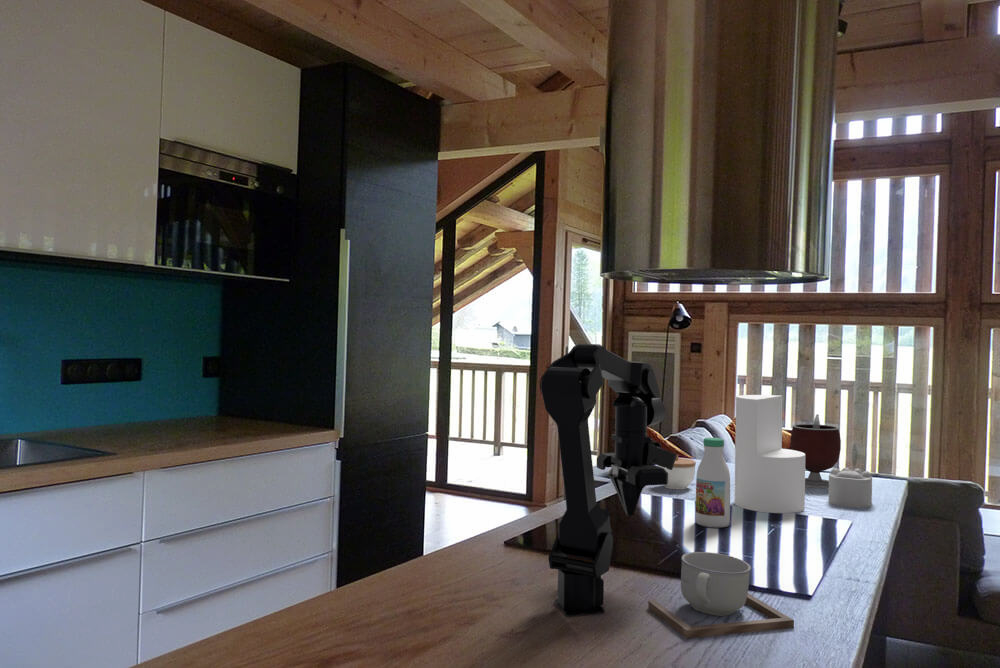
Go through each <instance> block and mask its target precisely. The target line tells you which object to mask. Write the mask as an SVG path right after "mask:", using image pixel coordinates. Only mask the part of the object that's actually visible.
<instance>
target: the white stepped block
mask: <svg viewBox="0 0 1000 668" xmlns="http://www.w3.org/2000/svg"><path fill="white" fill-rule="evenodd" d="M734 430H735V434H734V435H735V438H734V440H735V441H734V451H735V452H734V455H735V456H734V501H733V502H734V505H735V506H736V507H739V508H741V509H745V510H749V511H755V512H762V513H768V514H769V513H770V514H772V513H773V514H793V513H799V512H803V511H804V510H805V507H806V504H805V503H806V500H805V499H806V498H805V497H806V487H805V478H806V469H805V453H803V452H799V451H795V450H791V449H788V448H783V395H777V394H776V395H775V394H741V395H740V394H739V395H736V396H735V429H734Z"/></svg>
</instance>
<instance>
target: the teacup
mask: <svg viewBox="0 0 1000 668" xmlns="http://www.w3.org/2000/svg"><path fill="white" fill-rule="evenodd" d="M680 559H681V570H680V571H681V572H680V573H681V574H680V589H681V591H680V592H681V594H682V596H683V599H685V600H686V602H687V603H689V605H690V606H691V607H692V608H693V609H694V610H695V611H698V612H701V613H703V614H706V615H712V616H719V617H722V616H723V617H725V616H730V615H732V614H735V613H736V611H739V610H740V609H742V608H743V606H745V604H746V603H745V602H746V599H747V594H748V593H749V584H750V572H751V570H752V567H751V565H750V564H749V563H748V562H747V561H745V560H742V559H740V558H738V557H734V556H731V555H728V554H722V553H718V552H708V551H694V552H688V553H684V554H683V555H682V556H681V558H680Z"/></svg>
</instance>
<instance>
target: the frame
mask: <svg viewBox="0 0 1000 668" xmlns="http://www.w3.org/2000/svg"><path fill="white" fill-rule="evenodd" d="M647 604H648V605H647V606H648V607H647V608H648V609H649V610H650V611H651V612H652V613H653V614H655V615H656V616H658V617H659V618H660V619H661V620H662V621H664V622H665V623H666V624H667V625H669V626H670V627H671V628H673V629H674V630H675V631H676V632H678V633H679V634H681V636H683V637H684V638H685V639H694V638H705V637H714V636H717V637H718V636H725V635H737V634H745V633H756V632H758V633H759V632H766V631H775V630H785V629H795V620H794V619H793V618H791V617H790V616H788V615H786V614H784V613H782V612H781V611H780V610H777V609H776V608H774V607H772V606H771V605H769V604H768V603H765V602H764V601H763V600H760V599H759V598H757V597H755V596H754V595H752V594H750V593H749V592H748V594H747V599H746V602H745V604H746V605H748V606H749V607H751V608H752V609H754V610H756V611H757V612H759V613H760V614H762V615H763V616H766V617H768V618H767V619H757V620H745V621H735V622H734V621H733V622H723V623H713V624H704V625H703V624H702V625H691V626H690V625H689V624H687V623H686V622H684V620H682V619H680V618H679V617H678V616H676V614H674V613H672V611H670V610H669V609H668V608H666V607H665V606H663V605H662V604H661V603H660V602H658V601H657V600H655V599H654V600H653V599H652V600H648V601H647Z"/></svg>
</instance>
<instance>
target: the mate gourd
mask: <svg viewBox="0 0 1000 668" xmlns="http://www.w3.org/2000/svg"><path fill="white" fill-rule="evenodd" d="M819 416H820V415H819V414H816V415H815V417H814V419H813V423H797V424H793V425H792V428H791V433H790V450H795V451H799V452H803V453H805V471H808V472H809V474H808V477H805V488H813V489H829V479H825V478H824V479H822V476H821V473H822V472H824V471H827V470H829V469H834V466H835V465H836V464H837V463H838V462H839V459H840V455H841V450H842V447H841V446H842V444H841V443H842V440H841V433H840V428H839V427H837V426H835V425H834V426H833V425H826V424H821V422H820V421H821V420H820V417H819Z"/></svg>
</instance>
